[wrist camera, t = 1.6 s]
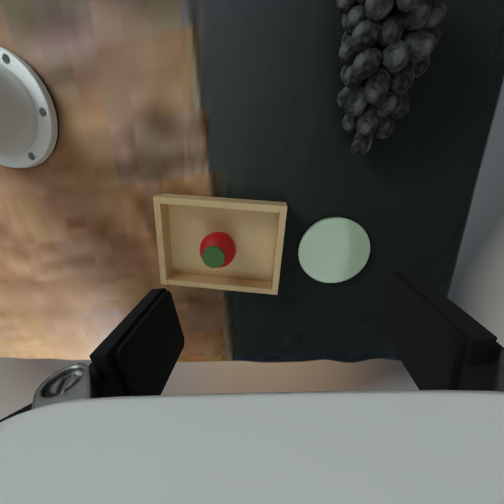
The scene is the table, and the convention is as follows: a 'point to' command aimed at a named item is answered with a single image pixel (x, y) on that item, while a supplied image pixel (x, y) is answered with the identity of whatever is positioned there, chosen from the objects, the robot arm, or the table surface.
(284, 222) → the tray
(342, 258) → the coaster
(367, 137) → the fruit
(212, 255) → the strawberry
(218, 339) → the table surface
